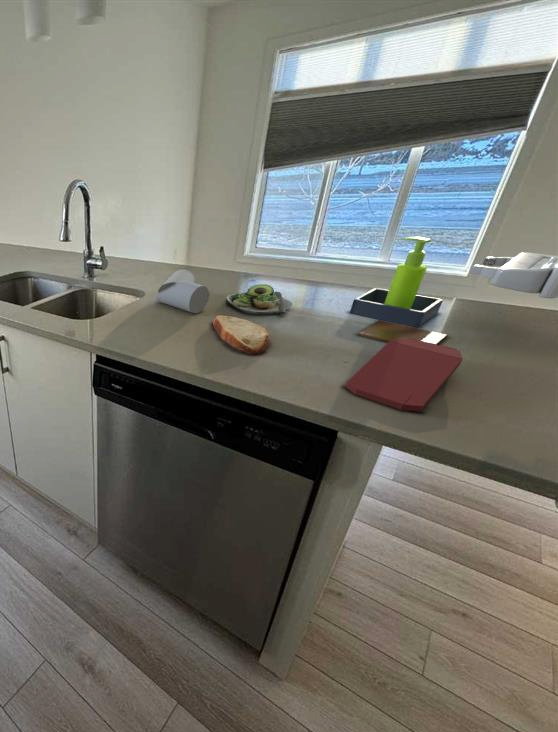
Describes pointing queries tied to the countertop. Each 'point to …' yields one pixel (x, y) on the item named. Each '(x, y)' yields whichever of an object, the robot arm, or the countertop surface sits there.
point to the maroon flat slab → (405, 373)
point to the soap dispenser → (408, 276)
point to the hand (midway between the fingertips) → (478, 264)
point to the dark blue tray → (395, 308)
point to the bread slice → (242, 334)
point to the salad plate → (259, 301)
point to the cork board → (400, 333)
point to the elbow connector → (183, 292)
